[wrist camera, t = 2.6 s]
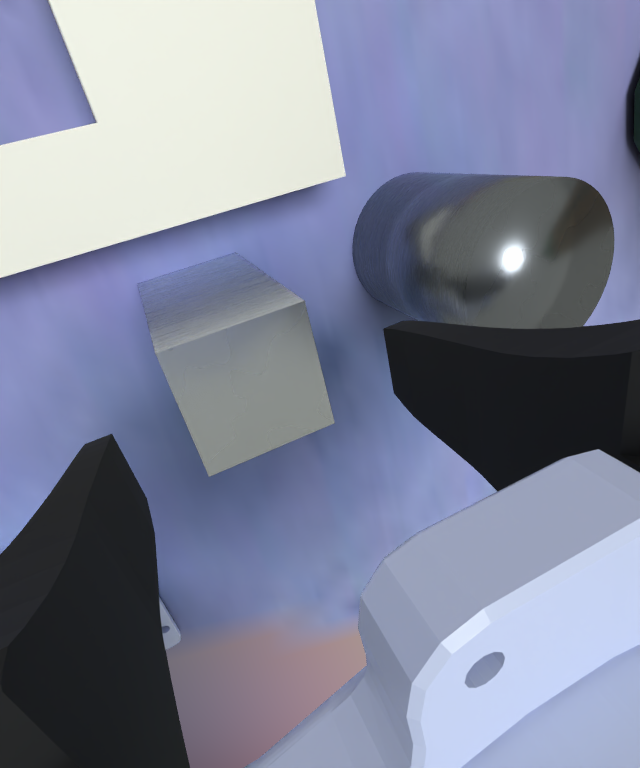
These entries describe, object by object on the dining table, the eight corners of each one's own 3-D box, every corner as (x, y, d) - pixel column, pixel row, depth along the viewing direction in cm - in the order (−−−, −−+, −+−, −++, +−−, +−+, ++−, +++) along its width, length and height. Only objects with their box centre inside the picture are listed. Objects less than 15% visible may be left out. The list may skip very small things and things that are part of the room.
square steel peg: (262, 340, 21) (334, 423, 15) (175, 372, 20) (209, 476, 14) (235, 252, 19) (304, 300, 13) (137, 283, 18) (155, 353, 12)
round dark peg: (468, 283, 24) (607, 330, 18) (364, 323, 23) (472, 389, 16) (459, 156, 21) (622, 154, 15) (340, 193, 20) (459, 208, 13)
